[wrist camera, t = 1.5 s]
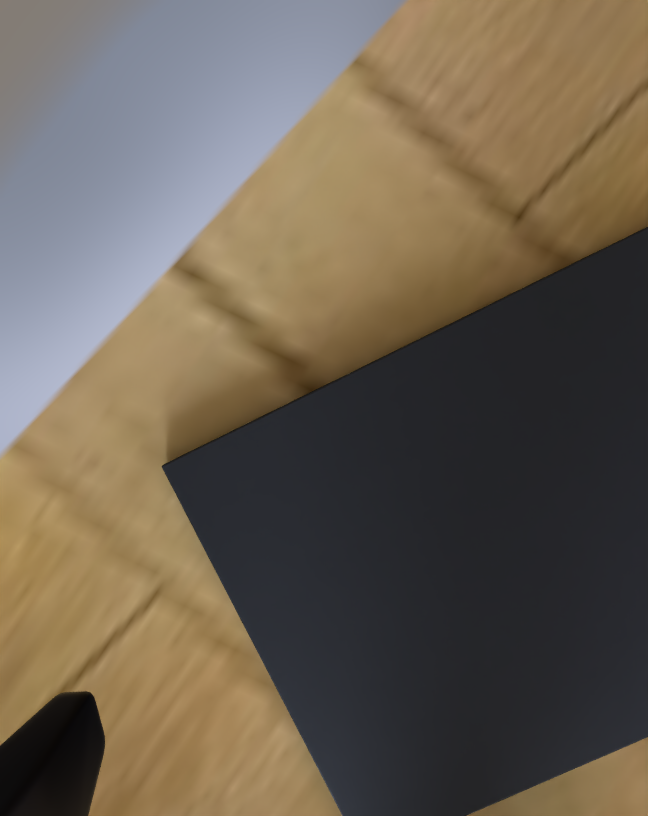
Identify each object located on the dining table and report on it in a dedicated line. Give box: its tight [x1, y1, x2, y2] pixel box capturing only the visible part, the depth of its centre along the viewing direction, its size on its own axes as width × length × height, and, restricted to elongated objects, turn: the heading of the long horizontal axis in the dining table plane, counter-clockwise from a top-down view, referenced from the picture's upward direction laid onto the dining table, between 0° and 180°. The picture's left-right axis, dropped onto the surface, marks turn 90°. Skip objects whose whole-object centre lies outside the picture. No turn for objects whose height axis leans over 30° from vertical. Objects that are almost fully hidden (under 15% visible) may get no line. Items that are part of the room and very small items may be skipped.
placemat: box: [162, 227, 648, 816], centre depth 22 cm, size 18×21×1 cm
